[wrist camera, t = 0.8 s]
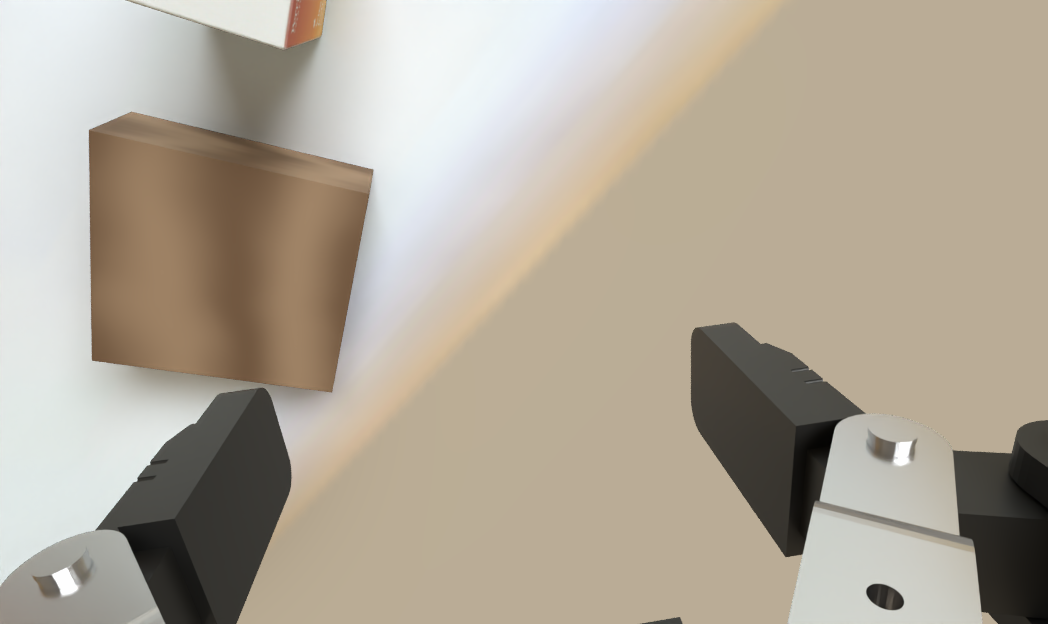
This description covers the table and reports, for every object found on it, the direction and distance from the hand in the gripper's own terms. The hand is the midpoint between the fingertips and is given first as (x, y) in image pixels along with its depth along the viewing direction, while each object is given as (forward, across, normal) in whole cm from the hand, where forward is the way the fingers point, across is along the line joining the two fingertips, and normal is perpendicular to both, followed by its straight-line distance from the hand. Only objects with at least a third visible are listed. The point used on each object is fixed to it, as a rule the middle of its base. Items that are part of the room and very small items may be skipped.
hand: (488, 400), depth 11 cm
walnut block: (+25, +13, +2) cm, 28 cm away
